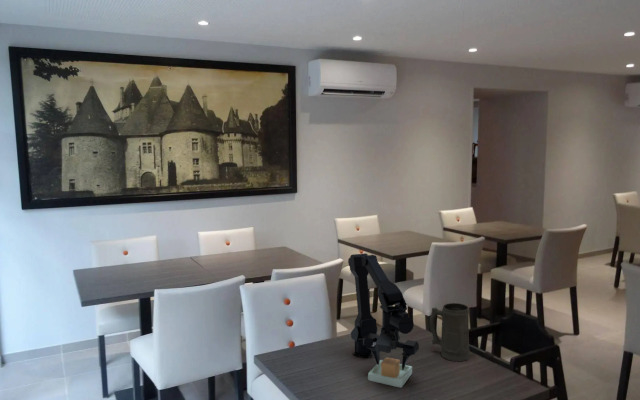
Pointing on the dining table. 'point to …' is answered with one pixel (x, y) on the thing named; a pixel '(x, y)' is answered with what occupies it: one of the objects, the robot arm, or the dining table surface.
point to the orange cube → (390, 367)
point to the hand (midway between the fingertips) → (390, 367)
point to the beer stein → (452, 331)
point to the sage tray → (398, 381)
